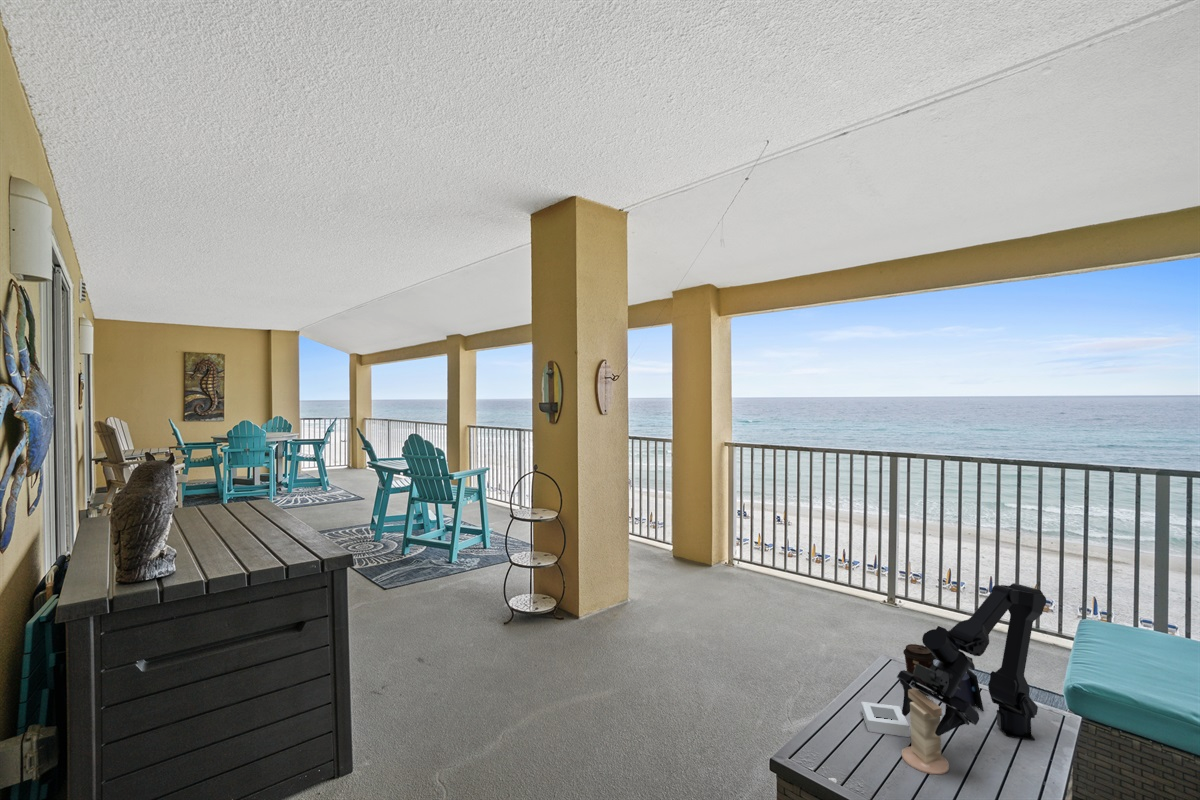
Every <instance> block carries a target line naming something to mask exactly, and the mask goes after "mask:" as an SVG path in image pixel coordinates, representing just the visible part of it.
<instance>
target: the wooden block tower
mask: <svg viewBox="0 0 1200 800" xmlns="http://www.w3.org/2000/svg"><path fill="white" fill-rule="evenodd" d="M908 697H909V698H910V699H911V700H912V701H914V702H910V712H909V715H910V719H909V720H910V743H911V747H912V751H913V752H914V753H915V754H916V755H917V756H918V757H920V758H921V759H922V760H923V761H924V762H925V763H929V762H933V761H936V760H939V759H941V755H942V741H941V740H942V739H941V737H942V735H940V736H937V735H936V734H935V731H936V729H937V727H938V725H939V723H940V721H941V717H943V715H942V714H943V713H942V710H943V709H942V707H941V706H940V705H938V704H937V703H936V702H934V701H933V700H932V699H931V698H929V697H928V695H924V694H923V693H921V692H920V691H919V690H917V689H916V688H913V689H909V690H908Z"/></svg>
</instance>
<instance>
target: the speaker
mask: <svg viewBox="0 0 1200 800" xmlns="http://www.w3.org/2000/svg"><path fill="white" fill-rule="evenodd" d="M960 684H961V685H962V686H963V687H962V689H959V688H957V689H956V691H955V693H954V695H953V696H957V697H959V698H961V699H963V700H965V701H967V702H969V703H970V705H971V706H972V707H973V708H974V706H976V708H978V709H979V708H980V709H979V711H981V710H982V711H984V706H983V701H982V696H981V695H982V694H981V691H980V686H979V680H978V676H977V675H976V674H975V672H973V671H972V669H970V668H968V670H967V672H966V673H965V675H964V677H963V679H962V681H961V682H960ZM982 711H981V712H982ZM984 712H985V711H984Z"/></svg>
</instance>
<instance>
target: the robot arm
mask: <svg viewBox="0 0 1200 800" xmlns="http://www.w3.org/2000/svg"><path fill="white" fill-rule="evenodd" d="M1046 604H1047V597H1046V596H1045V595H1044V593H1043V592H1042V590H1041V589H1039V588H1036V587H1035V588H1034V587H1030V586H1027V585H1023V584H1019V583H1012V584H1010V585H1006V584H1005V585H1004V584H995V585H994V586H992V588H991V592H990V594H989V595H987V597H986V599H985V600H984V601H982V603H981V604H980V606H979V607H978V608H977V609H976V611H975V612H974V613H973V614H972V615H971V617H969V618H968V619H965V620H962V621H961V620H960V621H959V622H957V623H956V624H955V625H954V626H953V627H952V628H951V629H949V630H947V628H945V627H942V626H940V625H937V627H936V628H935V629H930V630H928V631H926V632H924V634H923V635H922V638H921V639H922V640H921V641H922V644H923V646H926V647H927V649H928V650H929V651H930V652H931V653H932V654H933V655H934V656H935V660H937V661H938V663H937V665H935V664H934V665H932V666H931V667H930V669H929V668H927V667H924V666H922V665H919V664H917V663H916V665H915V669H914V673H913V674H911V673H909V672H907V670H905V669H904V670H900V671H899V672H898V674H897V676H896V678H897V679H898V680H899V683H900V684H901V686H902V688H903V701H902V702H903V703H902V709H901V710H902V714H903V715H904V717H907V715H909V714H910V702H914V701H912V700H911V699H910V698H909V697H908V690H909V689H913V688H916V689H917V690H919V691H920V692H921V693H925V694H927V695H926V696H929V697H931V698H933V699H935V700H936V701H939V702H941V703H942V704H944V705H945V711H944V715H942V718H941V719H940V723H939V725H938V727H937V729H936V731H935V734H936V735H937V736H940V735H941V736H942V735H944V734H946V733H948V732H950V731H952V730H954V729H956V728H959V727H962V726H964V725H966V726H970V725H971V724H972V725H974V726H977V725H978V722H979V720H980V715H979V712H978V711H977V710H976V709H975V707H974V706H973V707H972V706H971V705H970V703H969V702H967V701H965V700H963V699H961V698H959V697H957V696H953V695H954V693H955V691H956V689H957V688H959V689H962V687H963V686H962V685H961V684H960V682H961V681H962V679H963V677H964V675H965V673H967V670H968V669H969V670H971V671H972V670H973V671H975V669H976V668H975V667H976V666H975V663H974V661H973V658H972V657H970V656H968V655H966V654H969V655H971V656H974V657H981V656H982V655H983V654H984V653H985V652H986V650H987V648H988V646H989V644H990V636H989V635H990V633H991V632H992V630H994V628H995V626H996V625H997V624H998V623H999V622H1000V620H1001V619H1002V618H1003V616H1005V614H1006V613H1007V612H1009V615H1010V616H1009V621H1008V622H1009V623H1008V627H1007V634H1006V638H1005V644H1004V650H1003V654H1002V655H1003V656H1002V662H1001V665H1000V666H1001V667H1000V668H999V669H997V670H996V671H993V670H992V671H991V672H990V674H989V675H990V676H989V681H988V684H987V686H988V692H989V695H990V699H991V701H992V703H993V704H995V705H998V709H997V710H996V725H997V726H998V727H999V729H1000V730H1001V731H1002V732H1003V734H1004V735H1005V736H1006V737H1009V738H1016V739H1023V740H1031V741H1035V739H1036V738H1035V736H1034V735H1033V734H1032V719H1035V718H1036V717H1035V716H1037V715H1038V710H1039V706H1038V705H1037V704H1036V703H1035V702H1034V700H1033V699H1032V698H1031V697H1030V690H1031V689H1030V686H1029V684H1028V682H1027V680H1026V677H1025V671H1026V666H1027V660H1028V654H1029V648H1030V641H1031V637H1032V636H1031V635H1032V629H1033V623H1034V622H1035V621H1036V620H1037V619H1038V618H1040V616H1042V615H1043V612H1044V610H1045V609H1044V608H1045V607H1046ZM964 652H965V653H966V654H965V653H964ZM917 677H918V678H920V679H921V680H922V681H923V682H924V683H925V684H926V685H924V684H923V683H922V682H921V681H920V680H919V679H918V678H917ZM931 692H932V693H931Z"/></svg>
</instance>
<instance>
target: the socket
mask: <svg viewBox="0 0 1200 800" xmlns="http://www.w3.org/2000/svg"><path fill="white" fill-rule="evenodd" d="M860 703H861V705H860V706H861V708H860V709H861V714H862V713H863V715H862V717H863V716H864V717H863V720H864V723H865V725H866V729H867V731H868V732H869V733H870V732H871V733H876V734H883V735H892V736H899V737H906V738H910V725H909V723H908V721H907V719H906V716H904V715H903V714H902V709H901V706H900V705H891V704H883V703H876V702H868V701H860ZM874 716H875V717H874ZM876 717H882V718H876ZM884 718H888V719H884ZM891 719H892V720H891Z"/></svg>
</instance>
